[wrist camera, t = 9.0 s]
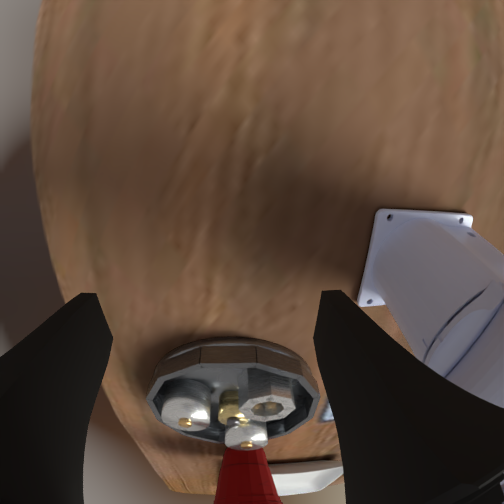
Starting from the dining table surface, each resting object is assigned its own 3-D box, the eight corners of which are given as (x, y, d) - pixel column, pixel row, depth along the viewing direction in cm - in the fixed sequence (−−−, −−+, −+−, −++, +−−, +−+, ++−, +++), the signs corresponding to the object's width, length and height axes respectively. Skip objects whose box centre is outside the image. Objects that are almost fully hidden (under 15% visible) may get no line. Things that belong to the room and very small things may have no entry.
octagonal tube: (282, 358, 23) (288, 391, 20) (293, 384, 25) (298, 414, 22) (232, 369, 23) (233, 402, 21) (248, 394, 26) (250, 424, 23)
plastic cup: (273, 461, 39) (279, 522, 28) (208, 459, 38) (207, 522, 27) (290, 437, 34) (300, 513, 23) (210, 435, 32) (209, 515, 22)
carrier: (325, 332, 23) (339, 376, 19) (301, 420, 31) (307, 452, 27) (135, 335, 22) (120, 379, 18) (171, 422, 30) (167, 454, 26)
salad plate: (227, 485, 48) (227, 498, 45) (229, 458, 38) (229, 476, 35) (318, 480, 50) (320, 492, 47) (350, 449, 40) (354, 464, 37)
